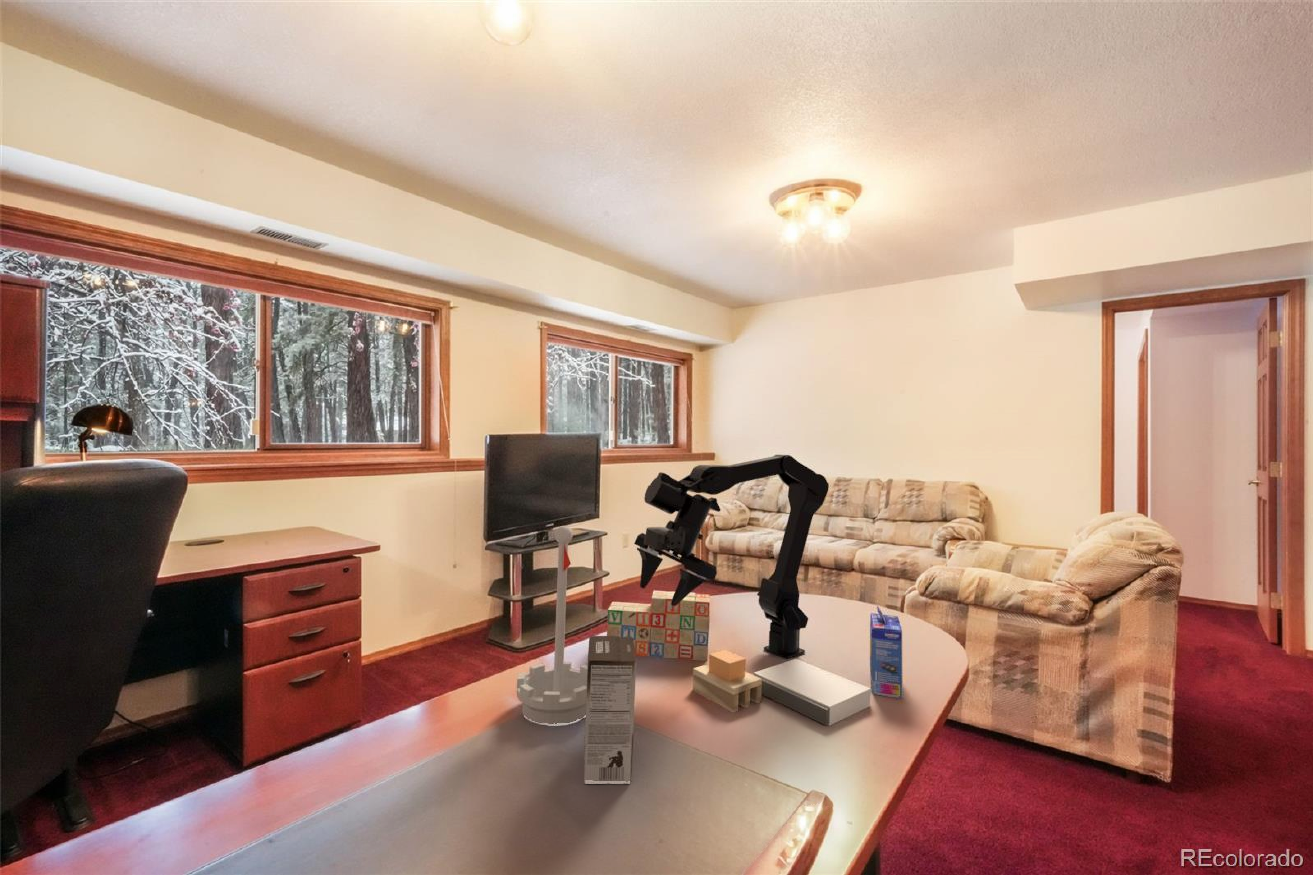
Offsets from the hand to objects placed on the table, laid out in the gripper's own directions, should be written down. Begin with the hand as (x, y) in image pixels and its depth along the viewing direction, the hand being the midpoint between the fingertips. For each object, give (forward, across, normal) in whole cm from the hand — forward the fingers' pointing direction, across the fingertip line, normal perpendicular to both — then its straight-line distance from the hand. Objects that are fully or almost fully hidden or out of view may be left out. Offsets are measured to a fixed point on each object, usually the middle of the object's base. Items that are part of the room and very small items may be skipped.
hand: (657, 596), depth 110 cm
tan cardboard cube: (+6, +18, +5) cm, 20 cm away
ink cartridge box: (-2, +34, +30) cm, 46 cm away
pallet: (+10, +19, +6) cm, 22 cm away
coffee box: (+20, +23, -21) cm, 37 cm away
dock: (+4, +28, +16) cm, 33 cm away
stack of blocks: (+12, -4, +12) cm, 17 cm away
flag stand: (+22, +5, -17) cm, 28 cm away
